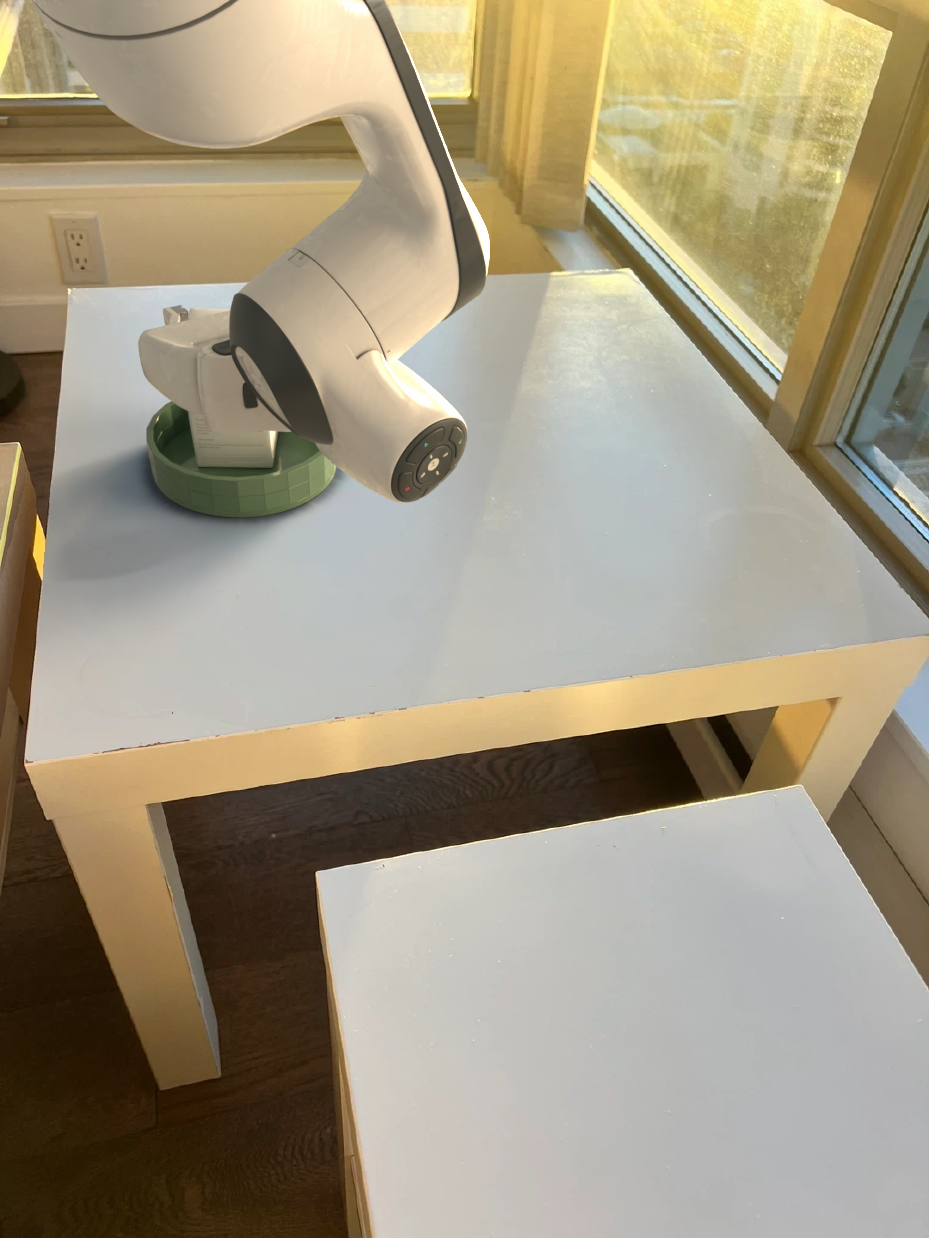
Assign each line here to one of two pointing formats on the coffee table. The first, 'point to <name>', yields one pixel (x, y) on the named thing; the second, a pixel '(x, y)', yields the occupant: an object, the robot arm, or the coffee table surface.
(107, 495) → the coffee table surface
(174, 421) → the bowl
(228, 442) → the white packaging box
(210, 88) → the robot arm
